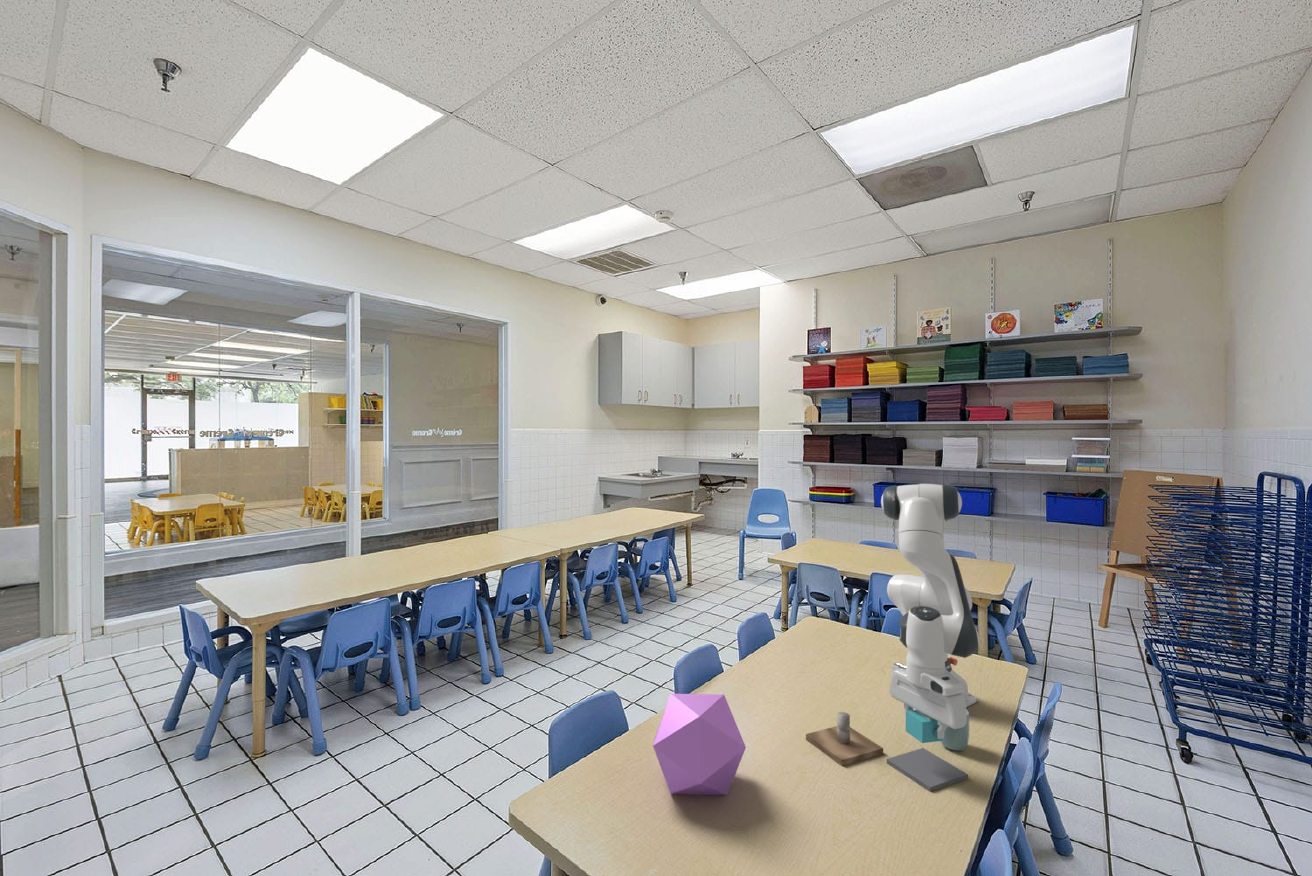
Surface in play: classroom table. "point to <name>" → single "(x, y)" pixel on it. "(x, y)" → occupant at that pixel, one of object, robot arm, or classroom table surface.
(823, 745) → the post base
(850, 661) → the classroom table surface
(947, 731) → the cup
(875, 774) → the classroom table surface
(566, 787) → the classroom table surface
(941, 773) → the mat
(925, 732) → the teal cube
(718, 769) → the icosahedron
